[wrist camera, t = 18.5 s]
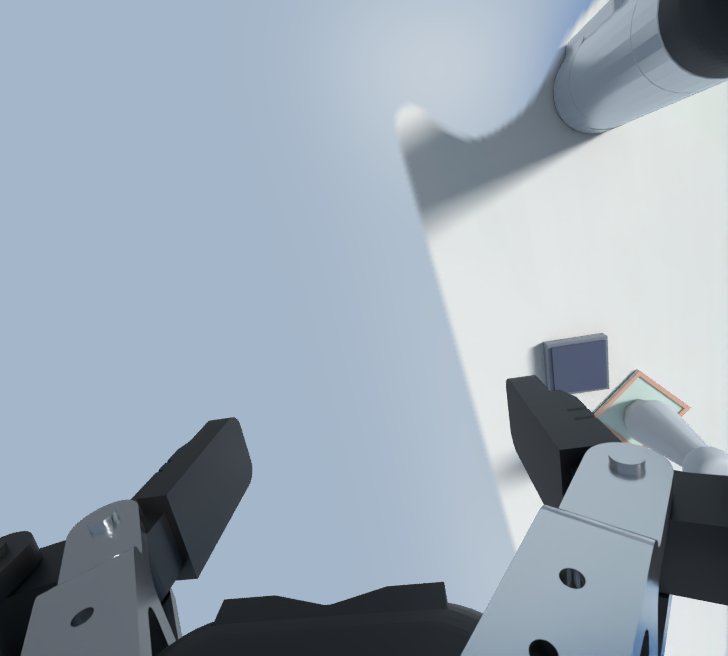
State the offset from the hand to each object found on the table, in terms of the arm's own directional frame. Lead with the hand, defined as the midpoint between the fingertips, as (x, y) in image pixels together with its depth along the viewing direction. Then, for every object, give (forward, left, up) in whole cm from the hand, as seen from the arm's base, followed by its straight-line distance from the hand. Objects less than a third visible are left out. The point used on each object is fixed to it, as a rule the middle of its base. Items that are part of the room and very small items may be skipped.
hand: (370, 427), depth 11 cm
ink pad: (+16, +21, -38) cm, 46 cm away
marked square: (+24, +28, -38) cm, 53 cm away
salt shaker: (+24, +29, -38) cm, 53 cm away
